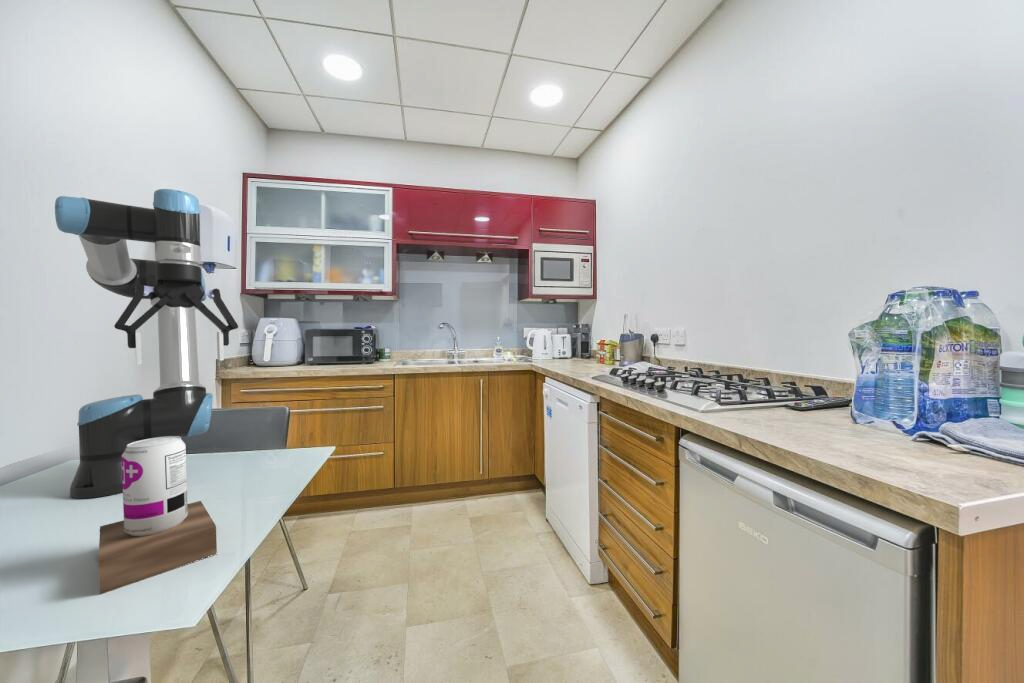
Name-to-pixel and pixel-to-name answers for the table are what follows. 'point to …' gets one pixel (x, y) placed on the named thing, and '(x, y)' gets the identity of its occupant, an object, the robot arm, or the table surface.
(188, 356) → the robot arm
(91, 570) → the table surface
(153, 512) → the supplement can
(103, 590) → the walnut base
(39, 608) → the table surface
